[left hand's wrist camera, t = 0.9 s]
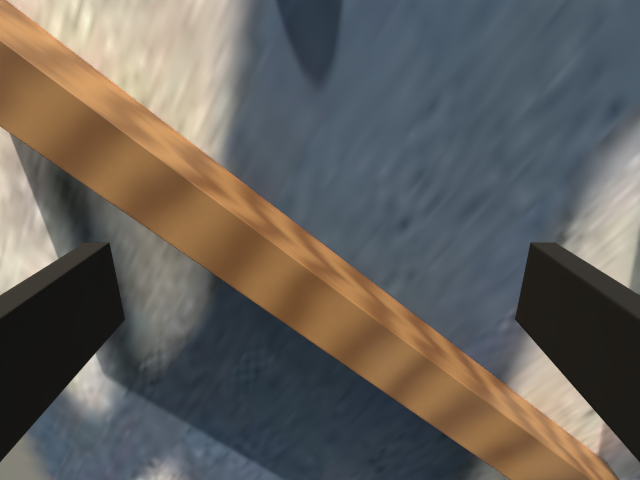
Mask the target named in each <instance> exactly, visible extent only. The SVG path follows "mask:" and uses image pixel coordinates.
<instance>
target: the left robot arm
mask: <svg viewBox="0 0 640 480" xmlns="http://www.w3.org/2000/svg"><path fill="white" fill-rule="evenodd" d="M124 320H125V318H124V313H123V308H122V303H121V298H120V293H119V288H118V283H117V278H116V273H115V268H114V263H113V258H112V253H111V248H110V243H83V244H82V245H80V246H79V247H77V248H75V249H74V250H72V251H71V252H69V253H67V254H66V255H64V256H63V257H61V258H59V259H58V260H56V261H55V262H53V263H51V264H50V265H48V266H47V267H45V268H43V269H42V270H40V271H39V272H37V273H35V274H34V275H32V276H31V277H29V278H27V279H26V280H24V281H23V282H21V283H19V284H18V285H16V286H15V287H13V288H11V289H10V290H8V291H7V292H5V293H3V294H2V295H0V462H1V461H2V459H3V458H4V457H5V456H6V455H7V454H8V453H9V451H10V450H11V449H12V448H13V447H14V446H15V445H16V443H17V442H18V441H19V440H20V439H21V438H22V437H23V435H24V434H25V433H26V432H27V431H28V430H29V429H30V427H31V426H32V425H33V424H34V423H35V422H36V420H37V419H38V418H39V417H40V416H41V415H42V414H43V412H44V411H45V410H46V409H47V408H48V407H49V406H50V404H51V403H52V402H53V401H54V400H55V399H56V398H57V396H58V395H59V394H60V393H61V392H62V391H63V390H64V388H65V387H66V386H67V385H68V384H69V383H70V382H71V380H72V379H73V378H74V377H75V376H76V375H77V374H78V372H79V371H80V370H81V369H82V368H83V367H84V366H85V364H86V363H87V362H88V361H89V360H90V359H91V358H92V356H93V355H94V354H95V353H96V352H97V351H98V350H99V348H100V347H101V346H102V345H103V344H104V343H105V341H106V340H107V339H108V338H109V337H110V336H111V335H112V333H113V332H114V331H115V330H116V329H117V328H118V327H119V325H120V324H121V323H122V322H123V321H124ZM515 320H516V321H517V322H518V323H519V324H520V325H521V327H522V328H523V329H524V330H525V331H526V332H527V333H528V335H529V336H530V337H531V338H532V339H533V340H534V341H535V343H536V344H537V345H538V346H539V347H540V348H541V350H542V351H543V352H544V353H545V354H546V355H547V356H548V358H549V359H550V360H551V361H552V362H553V363H554V364H555V366H556V367H557V368H558V369H559V370H560V371H561V372H562V374H563V375H564V376H565V377H566V378H567V379H568V380H569V382H570V383H571V384H572V385H573V386H574V387H575V388H576V390H577V391H578V392H579V393H580V394H581V395H582V396H583V398H584V399H585V400H586V401H587V402H588V403H589V404H590V406H591V407H592V408H593V409H594V410H595V411H596V412H597V414H598V415H599V416H600V417H601V418H602V419H603V420H604V422H605V423H606V424H607V425H608V426H609V427H610V429H611V430H612V431H613V432H614V433H615V434H616V435H617V437H618V438H619V439H620V440H621V441H622V442H623V443H624V445H625V446H626V447H627V448H628V449H629V450H630V451H631V453H632V454H633V455H634V456H635V457H636V458H637V459H638V461H639V462H640V295H638V294H637V293H635V292H633V291H632V290H630V289H629V288H627V287H625V286H624V285H622V284H621V283H619V282H617V281H616V280H614V279H613V278H611V277H609V276H608V275H606V274H605V273H603V272H601V271H600V270H598V269H597V268H595V267H593V266H592V265H590V264H589V263H587V262H585V261H584V260H582V259H581V258H579V257H577V256H576V255H574V254H573V253H571V252H569V251H568V250H566V249H565V248H563V247H561V246H560V245H558V244H557V243H530V248H529V253H528V258H527V263H526V268H525V273H524V278H523V283H522V288H521V293H520V298H519V303H518V308H517V313H516V318H515Z"/></svg>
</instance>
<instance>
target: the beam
mask: <svg viewBox="0 0 640 480" xmlns="http://www.w3.org/2000/svg"><path fill="white" fill-rule="evenodd" d="M0 126H1V127H2V128H4V129H5V130H6V131H8V132H9V133H11V134H12V135H14V136H15V137H17V138H18V139H19V140H21V141H22V142H24V143H25V144H27V145H28V146H30V147H31V148H32V149H34V150H35V151H37V152H38V153H40V154H41V155H43V156H44V157H45V158H47V159H48V160H50V161H51V162H53V163H54V164H56V165H57V166H58V167H60V168H61V169H63V170H64V171H66V172H67V173H68V174H70V175H71V176H73V177H74V178H76V179H77V180H79V181H80V182H81V183H83V184H84V185H86V186H87V187H89V188H90V189H92V190H93V191H94V192H96V193H97V194H99V195H100V196H102V197H103V198H105V199H106V200H107V201H109V202H110V203H112V204H113V205H115V206H116V207H118V208H119V209H120V210H122V211H123V212H125V213H126V214H128V215H129V216H131V217H132V218H133V219H135V220H136V221H138V222H139V223H141V224H142V225H144V226H145V227H146V228H148V229H149V230H151V231H152V232H154V233H155V234H157V235H158V236H159V237H161V238H162V239H164V240H165V241H167V242H168V243H170V244H171V245H172V246H174V247H175V248H177V249H178V250H180V251H181V252H183V253H184V254H185V255H187V256H188V257H190V258H191V259H193V260H194V261H196V262H197V263H198V264H200V265H201V266H203V267H204V268H206V269H207V270H209V271H210V272H211V273H213V274H214V275H216V276H217V277H219V278H220V279H222V280H223V281H224V282H226V283H227V284H229V285H230V286H232V287H233V288H235V289H236V290H237V291H239V292H240V293H242V294H243V295H245V296H246V297H248V298H249V299H250V300H252V301H253V302H255V303H256V304H258V305H259V306H261V307H262V308H263V309H265V310H266V311H268V312H269V313H271V314H272V315H274V316H275V317H276V318H278V319H279V320H281V321H282V322H284V323H285V324H286V325H288V326H289V327H291V328H292V329H294V330H295V331H297V332H298V333H299V334H301V335H302V336H304V337H305V338H307V339H308V340H310V341H311V342H312V343H314V344H315V345H317V346H318V347H320V348H321V349H323V350H324V351H325V352H327V353H328V354H330V355H331V356H333V357H334V358H336V359H337V360H338V361H340V362H341V363H343V364H344V365H346V366H347V367H349V368H350V369H351V370H353V371H354V372H356V373H357V374H359V375H360V376H362V377H363V378H364V379H366V380H367V381H369V382H370V383H372V384H373V385H375V386H376V387H377V388H379V389H380V390H382V391H383V392H385V393H386V394H388V395H389V396H390V397H392V398H393V399H395V400H396V401H398V402H399V403H401V404H402V405H403V406H405V407H406V408H408V409H409V410H411V411H412V412H414V413H415V414H416V415H418V416H419V417H421V418H422V419H424V420H425V421H427V422H428V423H429V424H431V425H432V426H434V427H435V428H437V429H438V430H440V431H441V432H442V433H444V434H445V435H447V436H448V437H450V438H451V439H453V440H454V441H455V442H457V443H458V444H460V445H461V446H463V447H464V448H466V449H467V450H468V451H470V452H471V453H473V454H474V455H476V456H477V457H479V458H480V459H481V460H483V461H484V462H486V463H487V464H489V465H490V466H492V467H493V468H494V469H496V470H497V471H499V472H500V473H502V474H503V475H504V476H506V477H507V478H509V479H510V480H620V479H619V478H618V477H617V475H616V474H615V473H614V472H613V470H612V469H611V468H610V466H609V465H608V464H607V463H606V462H605V461H604V460H603V459H601V458H600V457H599V456H597V455H596V454H595V453H593V452H592V451H591V450H590V449H588V448H587V447H586V446H584V445H583V444H582V443H580V442H579V441H578V440H577V439H575V438H574V437H573V436H571V435H570V434H569V433H567V432H566V431H565V430H564V429H562V428H561V427H560V426H558V425H557V424H556V423H554V422H553V421H552V420H551V419H549V418H548V417H547V416H545V415H544V414H543V413H541V412H540V411H539V410H538V409H536V408H535V407H534V406H532V405H531V404H530V403H528V402H527V401H526V400H525V399H523V398H522V397H521V396H519V395H518V394H517V393H515V392H514V391H513V390H512V389H510V388H509V387H508V386H506V385H505V384H504V383H502V382H501V381H500V380H499V379H497V378H496V377H495V376H493V375H492V374H491V373H490V372H488V371H487V370H486V369H484V368H483V367H482V366H480V365H479V364H478V363H477V362H475V361H474V360H473V359H471V358H470V357H469V356H467V355H466V354H465V353H464V352H462V351H461V350H460V349H458V348H457V347H456V346H454V345H453V344H452V343H451V342H449V341H448V340H447V339H445V338H444V337H443V336H441V335H440V334H439V333H438V332H436V331H435V330H434V329H432V328H431V327H430V326H428V325H427V324H426V323H425V322H423V321H422V320H421V319H419V318H418V317H417V316H415V315H414V314H413V313H412V312H410V311H409V310H408V309H406V308H405V307H404V306H402V305H401V304H400V303H399V302H397V301H396V300H395V299H393V298H392V297H391V296H389V295H388V294H387V293H386V292H384V291H383V290H382V289H380V288H379V287H378V286H376V285H375V284H374V283H373V282H371V281H370V280H369V279H367V278H366V277H365V276H363V275H362V274H361V273H360V272H358V271H357V270H356V269H354V268H353V267H352V266H350V265H349V264H348V263H347V262H345V261H344V260H343V259H341V258H340V257H339V256H338V255H336V254H335V253H334V252H332V251H331V250H330V249H328V248H327V247H326V246H325V245H323V244H322V243H321V242H319V241H318V240H317V239H315V238H314V237H313V236H312V235H310V234H309V233H308V232H306V231H305V230H304V229H302V228H301V227H300V226H299V225H297V224H296V223H295V222H293V221H292V220H291V219H289V218H288V217H287V216H286V215H284V214H283V213H282V212H280V211H279V210H278V209H276V208H275V207H274V206H273V205H271V204H270V203H269V202H267V201H266V200H265V199H263V198H262V197H261V196H260V195H258V194H257V193H256V192H254V191H253V190H252V189H250V188H249V187H248V186H247V185H245V184H244V183H243V182H241V181H240V180H239V179H237V178H236V177H235V176H234V175H232V174H231V173H230V172H228V171H227V170H226V169H224V168H223V167H222V166H221V165H219V164H218V163H217V162H215V161H214V160H213V159H211V158H210V157H209V156H208V155H206V154H205V153H204V152H202V151H201V150H200V149H198V148H197V147H196V146H195V145H193V144H192V143H191V142H189V141H188V140H187V139H185V138H184V137H183V136H182V135H180V134H179V133H178V132H176V131H175V130H174V129H173V128H171V127H170V126H169V125H167V124H166V123H165V122H163V121H162V120H161V119H160V118H158V117H157V116H156V115H154V114H153V113H152V112H150V111H149V110H148V109H147V108H145V107H144V106H143V105H141V104H140V103H139V102H137V101H136V100H135V99H134V98H132V97H131V96H130V95H128V94H127V93H126V92H124V91H123V90H122V89H121V88H119V87H118V86H117V85H115V84H114V83H113V82H111V81H110V80H109V79H108V78H106V77H105V76H104V75H102V74H101V73H100V72H98V71H97V70H96V69H95V68H93V67H92V66H91V65H89V64H88V63H87V62H85V61H84V60H83V59H82V58H80V57H79V56H78V55H76V54H75V53H74V52H72V51H71V50H70V49H69V48H67V47H66V46H65V45H63V44H62V43H61V42H59V41H58V40H57V39H56V38H54V37H53V36H52V35H50V34H49V33H48V32H46V31H45V30H44V29H43V28H41V27H40V26H39V25H37V24H36V23H35V22H33V21H32V20H31V19H30V18H28V17H27V16H26V15H24V14H23V13H22V12H21V11H19V10H18V9H17V8H15V7H14V6H13V5H11V4H10V3H9V2H8V1H6V0H0Z"/></svg>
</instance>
